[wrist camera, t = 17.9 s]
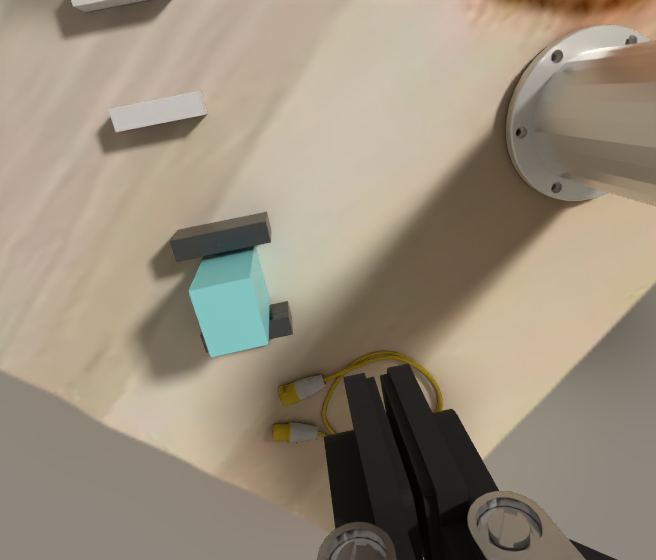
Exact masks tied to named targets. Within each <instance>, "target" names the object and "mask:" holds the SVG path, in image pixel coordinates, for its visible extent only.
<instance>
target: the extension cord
mask: <svg viewBox="0 0 656 560" xmlns="http://www.w3.org/2000/svg"><path fill="white" fill-rule="evenodd" d="M377 355H388V356H380V357H375V358H372V359H368V360H366V361H363V360H365V359H367V358H370V357H373V356H377ZM391 355H393V356H391ZM385 359H395V360H400V361H403V362H405V363H408V364H409V365H411V366H413V367H415V368H417V369H418V370H419V371H421V372H422V373H423V374H424V375H425V376H426V377H428V379H429V380H430V381H431V382H432V384H433V386H434V387H435V389H436V392H437V395H438V402H437V407H436V410H435V412H440V411H442V396H441V392H440V389H439V387H438V385H437V383H436V381H435V380H434V379H433V377H432V376H431V375H430V374H429V373H428V372H427V371H426V370H425V369H424V368H423V367H421V366H420V365H419V364H417V363H416V362H414V361H412V360H411V359H409V358H407V357H406V356H404V355H402V354H400V353H397V352H392V351H379V352H374V353H370V354H367V355H365V356H363V357H361V358H359V359H357V360H355V361H354V362H353V363H351V364H350V365H349V366H348V367H346V368H345V369H344V370H341V371H339V372H337V373H335V374H332V375H330V376H328V377H325V378H324V377H323V375H322V374H320V375H317V376H311V377H307V378H303V379H299V380H297V381H295V382H292V383H290V384H288V385H285V386H280V388H279V389H278V392H279V396H280V399H281V401H282V403H283V405H284V406H288V405H290V404H293V403H295V402H298V401H301V400H303V399H306V398H309V397H310V396H311V395H313V394H315V393H316V392H318V391H319V390H321V389H322V388H324V387H326V381H328V380H330V379H333V378H335V377H337V376H338V377H337V378H336V380H335V381H334V383H333V384H332V386H331V388H330V390H329V392H328V394H327V396H326V399H325V402H324V405H323V408H322V419H323V422H324V424H325V426H326V428H327V429H328V430H329V432H330V433H331V434H332V435H333V434H336V433H335V432H334V431H333V430H332V428H331V427H330V426H329V424H328V422H327V420H326V417H325V411H326V407H327V404H328V401H329V399H330V397H331V394H332V392H333V390H334V388H335V387H336V385H337V384H338V382H339V381H340V379H341V378H342V377H343V376H344V374H345V373H346V372H349V371H351V370H353V369H356V368H358V367H361V366H363V365H366V364H368V363H372V362H375V361H379V360H385ZM361 361H363V362H361ZM359 362H360V363H359ZM357 363H358V364H357ZM435 412H434V413H435ZM273 426H274V430H273V441H288V442H296V443H298V442H302V441H307V440H312V439H317V437H318V435H320V436H322V437H324V436H328V435H326V434H324V433H322V432H320V431H318V428H317V426H312V425H308V424H302V423H298V422H297V423H288V424H274V425H273Z"/></svg>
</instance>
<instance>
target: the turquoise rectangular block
mask: <svg viewBox="0 0 656 560" xmlns="http://www.w3.org/2000/svg"><path fill="white" fill-rule="evenodd" d="M188 292H189V295H190V298H191V301H192V304H193V307H194V310H195V313H196V316H197V318H198V321H199V324H200V327H201V330H202V333H203V336H204V339H205V342H206V345H207V348H208V351H209V354H210V357H215V356H219V355H224V354H228V353H233V352H237V351H242V350H246V349H251V348H255V347H260V346H264V345H268V340H269V306H270V297H269V293H268V289H267V285H266V282H265V278H264V274H263V270H262V267H261V263H260V259H259V255H258V251H257V248H256V245H255V246H250V247H245V248H240V249H236V250H231V251H226V252H221V253H216V254H211V255H206V256H204V257H203V259H202V262H201V264H200V266H199V268H198V271H197V273H196V275H195V277H194V280H193V282H192V284H191V286H190V289H189V291H188Z"/></svg>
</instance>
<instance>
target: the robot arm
mask: <svg viewBox="0 0 656 560" xmlns="http://www.w3.org/2000/svg"><path fill="white" fill-rule="evenodd" d="M552 55H553V59H552V60H551V56H552ZM517 129H518V130H519V132H518V134H517V135H516V130H517ZM506 141H507V147H508V152H509V155H510V158H511V160H512V163H513V165H514V167H515V169H516V170H517V172H518V173H519V175H520V176H521V178H522V179H523V180H524V181H525V182H526V183H527V184H528V185H529V186H530V187H532V188H533V189H535V190H537V191H538V192H540V193H542V194H544V195H547V196H549V197H552V198H555V199H560V200H565V201H583V200H588V199H593V198H597V197H599V196H602V195H604V194H607V193H611V194H615V195H618V196H622V197H625V198H628V199H632V200H635V201H639V202H642V203H646V204H649V205H652V206H656V40H655V41H651V40H649V39H648V38H647V37H645V36H644V35H643V34H641V33H640V32H638V31H636V30H633V29H631V28H628V27H626V26H620V25H613V24H606V25H594V26H590V27H586V28H582V29H578V30H576V31H573V32H571V33H569V34H566V35H564V36H562V37H561V38H559V39H557V40H556V41H554V42H553V43H551V44H550V45H548V46H547V47H546V48H545V49H544V50H543V51H542V52H541V53H540V54H539V55H538V56H536V57H535V59H534V60H533V61H532V62H531V64H530V65H529V66H528V68H527V69H526V70H525V71H524V73H523V75H522V77H521V78H520V80H519V82H518V84H517V86H516V88H515V90H514V93H513V96H512V98H511V101H510V104H509V109H508V114H507V119H506ZM552 185H553V187H552ZM343 378H344V383H345V388H346V393H347V398H348V403H349V408H350V413H351V418H352V423H353V427H354V430H351V431H347V432H342V433H337V434H333V435H328V436H324V442H325V450H326V458H327V466H328V474H329V482H330V490H331V497H332V505H333V513H334V521H335V530H334V531H333V532H331V533H330V534H329V535H328V536H327V537H326V538H325V540H324V542H323V543H322V545H321V547H320V549H319V553H318V557H317V560H423V557H424V560H617V559H614V558H612V557H610V556H607V555H605V554H603V553H600V552H598V551H596V550H593V549H591V548H589V547H586V546H584V545H582V544H579V543H577V542H575V541H572V540H570V539H568V538H567V537H566V536H565V535H564V533H563V532H562V531H561V530H560V529H559V527H558V526H557V525H556V524H555V523H554V522H553V520H552V519H551V518H550V517H549V516H548V514H547V513H546V512H545V511H544V510H543V509H542V508H541V507H540V506H539V505H538V504H537V503H536V502H534V501H533V500H531V499H529V498H527V497H526V496H524V495H521V494H518V493H514V492H511V491H499V490H498V488H497V486H496V484H495V482H494V481H493V479H492V477H491V475H490V473H489V472H488V470H487V468H486V466H485V464H484V463H483V461H482V459H481V457H480V455H479V453H478V452H477V450H476V448H475V446H474V444H473V443H472V441H471V439H470V437H469V435H468V434H467V432H466V430H465V428H464V426H463V425H462V423H461V421H460V419H459V417H458V415H457V414H456V412H455V411H454V410H453V409H449V410H444V411H440V412H435V413H432V411H431V409H430V407H429V405H428V403H427V401H426V399H425V397H424V395H423V392H422V390H421V388H420V386H419V384H418V382H417V380H416V378H415V376H414V374H413V372H412V369H411V367H410V365H409V364H403V365H399V366H394V367H389V368H387V374H384V375H380V380H381V386H382V392H383V398H384V403H385V409H386V412H385V409H384V406H383V403H382V400H381V397H380V394H379V391H378V388H377V385H376V382H375V379H374V377H370V378H366V377H365V374H364V373H361V374H356V375H352V376H347V377H343Z"/></svg>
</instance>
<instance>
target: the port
mask: <svg viewBox="0 0 656 560" xmlns="http://www.w3.org/2000/svg"><path fill="white" fill-rule="evenodd" d="M170 242H171V245H172V249H173V252H174V255H175V258H176V261H182V260H187V259H192V258H197V257H202V256H206V255H211V254H216V253H221V252H226V251H231V250H236V249H240V248H245V247H250V246H255V245H260V244H265V243H270V242H271V228H270V224H269V219H268V215H267V212H264V213H259V214H254V215H249V216H244V217H239V218H234V219H229V220H224V221H220V222H215V223H210V224H205V225H200V226H195V227H190V228H185V229H180V230H178V231H177V232H176V234H175V235H174V236H173V238H172V239H171V240H170ZM292 334H293V328H292V317H291V312H290V308H289V304H288V301H286V302H281V303H277V304H272V305H270V306H269V339H273V338H278V337H283V336H287V335H292ZM201 338H202V341H203V344H204V347H205V350H206V353H207V352H209V351H208V348H207V345H206V342H205V339H204V336H203V333H202V332H201Z"/></svg>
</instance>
